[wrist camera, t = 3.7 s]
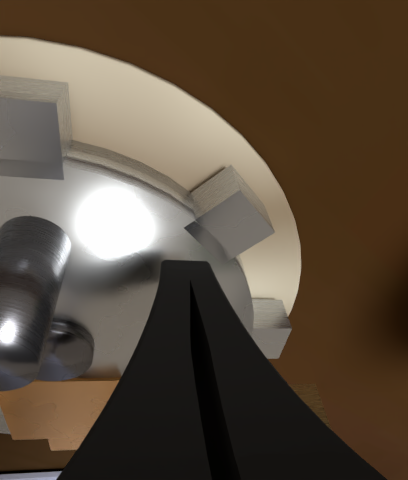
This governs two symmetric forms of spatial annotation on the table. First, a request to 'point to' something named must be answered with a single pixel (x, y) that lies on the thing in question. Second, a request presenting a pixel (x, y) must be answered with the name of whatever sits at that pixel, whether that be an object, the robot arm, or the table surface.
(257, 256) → the base plate
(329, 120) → the table surface
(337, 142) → the table surface
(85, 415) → the sprocket
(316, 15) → the table surface
